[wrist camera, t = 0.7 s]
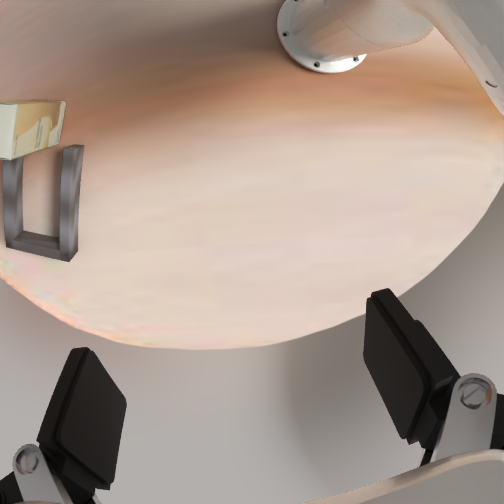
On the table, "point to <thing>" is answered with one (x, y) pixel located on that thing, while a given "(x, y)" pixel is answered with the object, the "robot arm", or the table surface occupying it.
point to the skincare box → (29, 126)
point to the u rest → (69, 209)
